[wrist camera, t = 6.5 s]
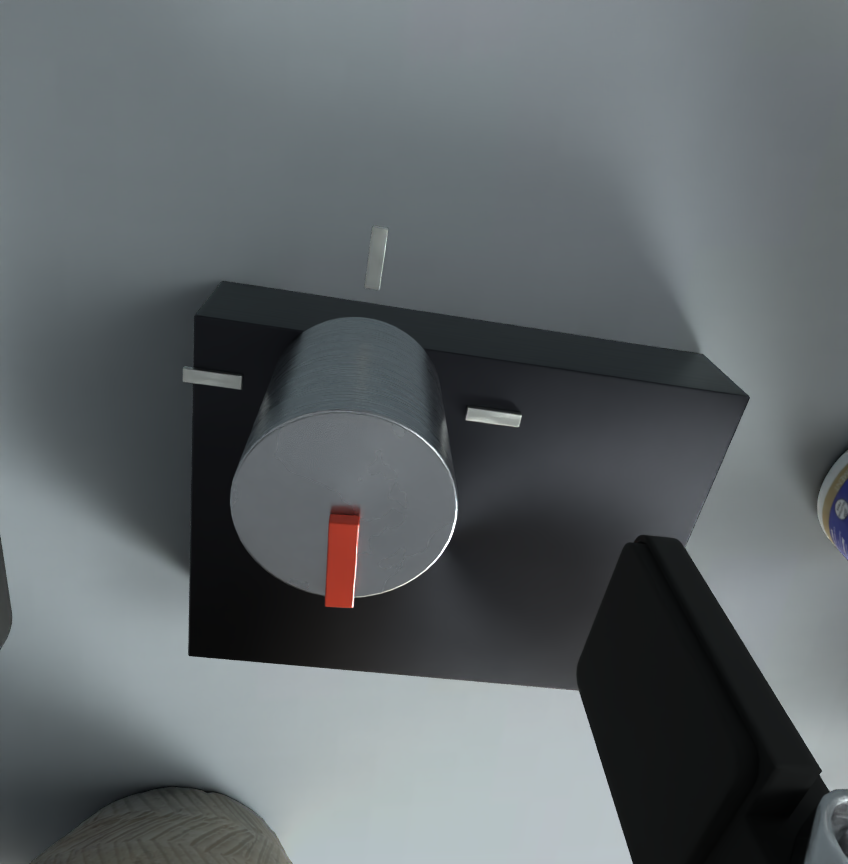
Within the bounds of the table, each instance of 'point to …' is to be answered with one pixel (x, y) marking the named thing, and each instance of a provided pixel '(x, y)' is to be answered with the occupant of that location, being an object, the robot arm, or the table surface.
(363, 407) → the hob knob
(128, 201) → the table surface
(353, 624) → the panel
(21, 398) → the table surface
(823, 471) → the table surface
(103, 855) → the planter
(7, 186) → the table surface
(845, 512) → the pill bottle
